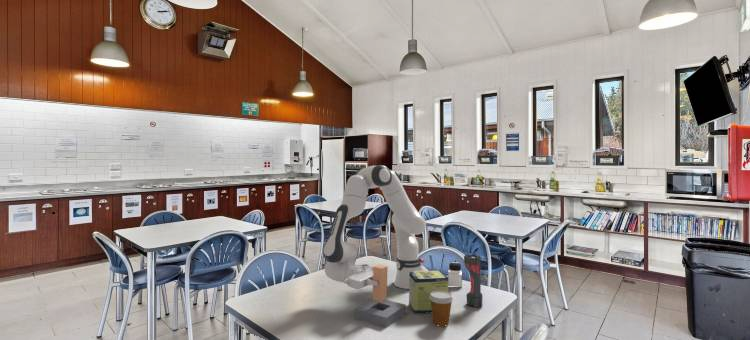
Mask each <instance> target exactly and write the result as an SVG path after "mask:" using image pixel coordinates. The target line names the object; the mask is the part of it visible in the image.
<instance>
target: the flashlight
mask: <svg viewBox="0 0 750 340" xmlns="http://www.w3.org/2000/svg"><path fill="white" fill-rule="evenodd" d="M481 257H482V256H481V255H480V254H478V255H477V254H476V253H472V254H469V253H466V254H465V255H464V256H463V263H464V266H465V268H466V269H467V271H468V272H469V276H470V277H469V278H470V291H469V292H468V293H466V304H467V303H468V304H469V305H471V306H472V305H473V306H476V307H478V306H482V307H483V293H482V292H481V288H482V287H481V283H482V282H481V269H482V268H481V264H482V258H481ZM468 304H467V305H468ZM469 305H468V306H469ZM473 306H472V307H473Z"/></svg>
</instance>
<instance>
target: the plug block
mask: <svg viewBox="0 0 750 340" xmlns="http://www.w3.org/2000/svg"><path fill="white" fill-rule="evenodd" d="M372 267H373V280H377V281H379V285H377V286H375V285H372V298H371V299H373V300H376V301H380V302H382V301H383V300H385V299H386V300H388V299H387V297H388V268H389V267H388V266H387V265H383V264H376V265H375V266H372Z"/></svg>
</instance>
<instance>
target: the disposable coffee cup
mask: <svg viewBox="0 0 750 340" xmlns="http://www.w3.org/2000/svg"><path fill="white" fill-rule="evenodd" d="M429 298H430V300H431V309H432V313H431V315H432V317H431V318H432V324H433V323H434V324H435V325H434V324H433V325H434V326H436V325H439V326H438V327H440V326H445V325H448V326H449V324H450V322H449V321H450V316H451V309H452V303H453V300H454V298H453V295H452V293H450V292H449V291H448V292H446V291H433V292H431V294H430V296H429ZM448 323H449V324H448ZM445 327H446V326H445Z"/></svg>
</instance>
